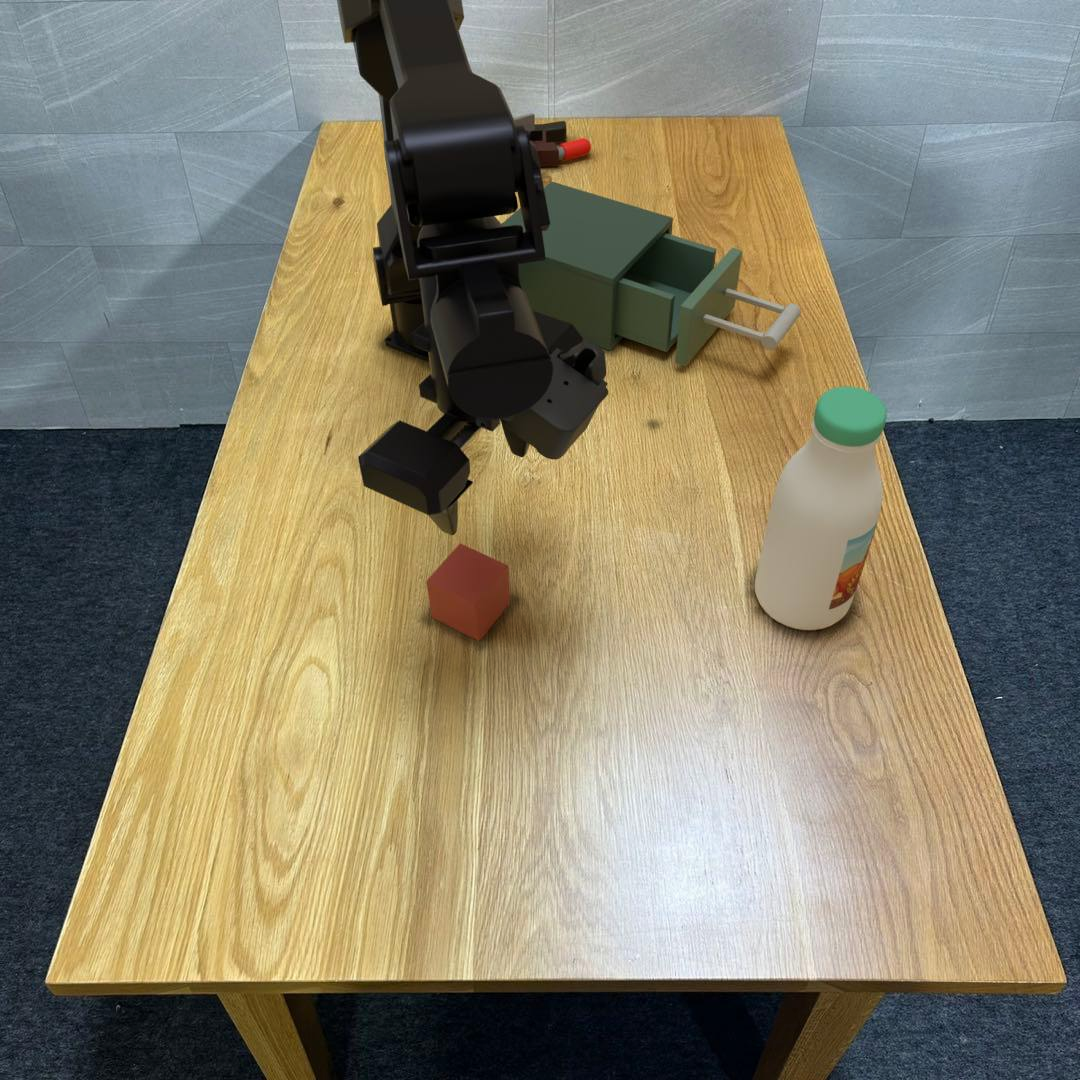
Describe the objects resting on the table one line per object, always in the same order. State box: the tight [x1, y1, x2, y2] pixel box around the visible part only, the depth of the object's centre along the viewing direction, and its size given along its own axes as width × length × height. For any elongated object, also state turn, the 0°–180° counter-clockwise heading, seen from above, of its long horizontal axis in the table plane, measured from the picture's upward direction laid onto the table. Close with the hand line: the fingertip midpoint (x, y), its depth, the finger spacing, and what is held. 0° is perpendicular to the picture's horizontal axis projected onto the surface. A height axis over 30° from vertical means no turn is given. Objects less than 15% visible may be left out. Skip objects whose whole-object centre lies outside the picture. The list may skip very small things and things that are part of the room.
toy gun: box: [513, 113, 592, 168], centre depth 129 cm, size 10×12×5 cm
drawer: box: [614, 233, 802, 367], centre depth 103 cm, size 21×11×7 cm, turn 58°
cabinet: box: [501, 181, 674, 352], centre depth 108 cm, size 15×13×9 cm
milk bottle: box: [754, 385, 888, 631], centre depth 76 cm, size 8×8×20 cm
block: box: [425, 542, 512, 642], centre depth 81 cm, size 5×5×5 cm
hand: (485, 492), depth 75 cm, fingers open, 9 cm apart
